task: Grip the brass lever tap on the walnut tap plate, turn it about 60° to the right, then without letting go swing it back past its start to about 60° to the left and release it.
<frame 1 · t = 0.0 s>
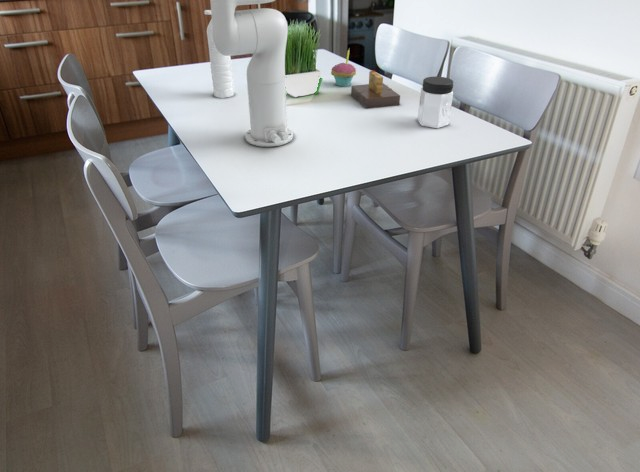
tap handle: (375, 81, 157), point 6 cm above the table, hinge at 0.0°
fruit basket: (303, 95, 165), on the table
tap plate: (374, 99, 160), on the table
cupcake: (343, 85, 174), on the table
water bottle: (222, 94, 165), on the table
jar: (432, 123, 143), on the table
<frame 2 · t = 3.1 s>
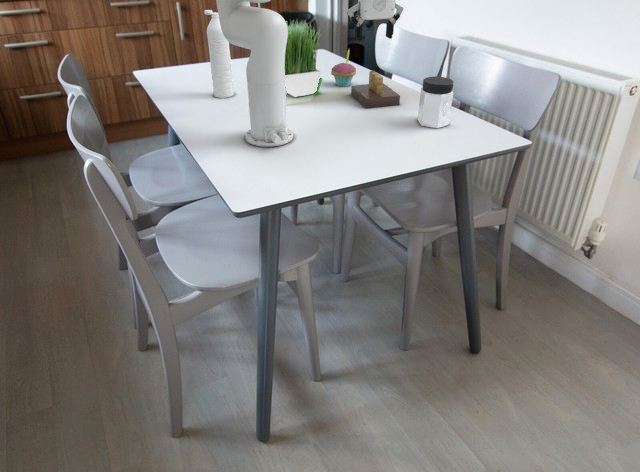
hand: (373, 38, 150), 18 cm above the table, tool pointing down, fingers open, 9 cm apart
nothing on the table moved.
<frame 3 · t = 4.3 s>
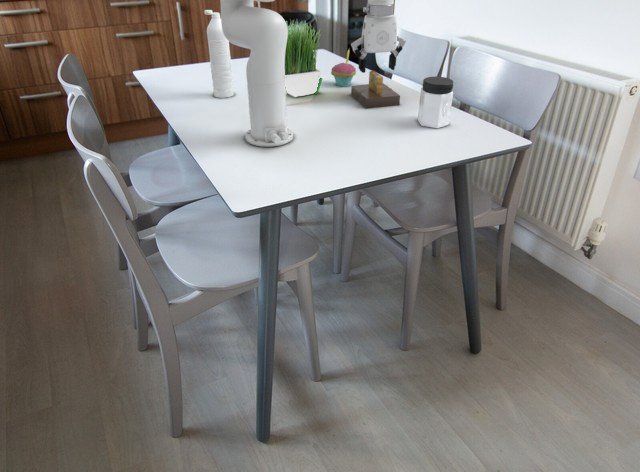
hand: (377, 70, 155), 9 cm above the table, tool pointing down, fingers open, 9 cm apart
nothing on the table moved.
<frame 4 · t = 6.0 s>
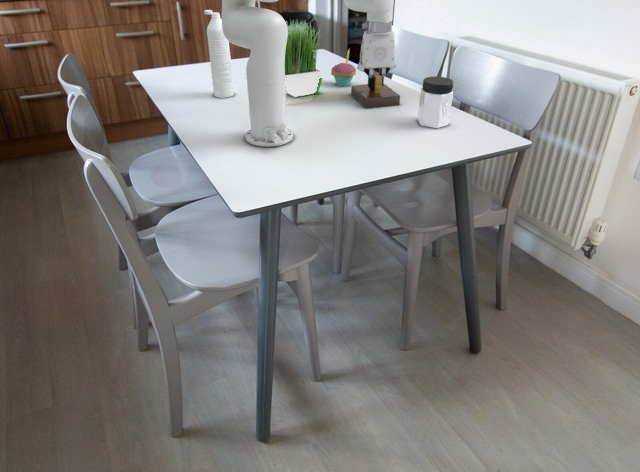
hand: (375, 88, 158), 4 cm above the table, tool pointing down, fingers closed on tap handle, 2 cm apart
tap handle: (375, 81, 157), point 6 cm above the table, hinge at -4.9°, touching gripper
everything else where it was.
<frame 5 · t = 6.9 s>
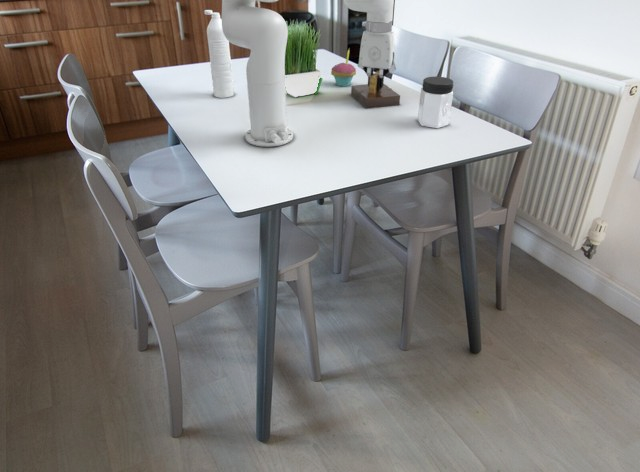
hand: (375, 88, 158), 4 cm above the table, tool pointing down, fingers closed on tap handle, 2 cm apart
tap handle: (375, 81, 157), point 6 cm above the table, hinge at -40.3°, touching gripper
everything else where it was.
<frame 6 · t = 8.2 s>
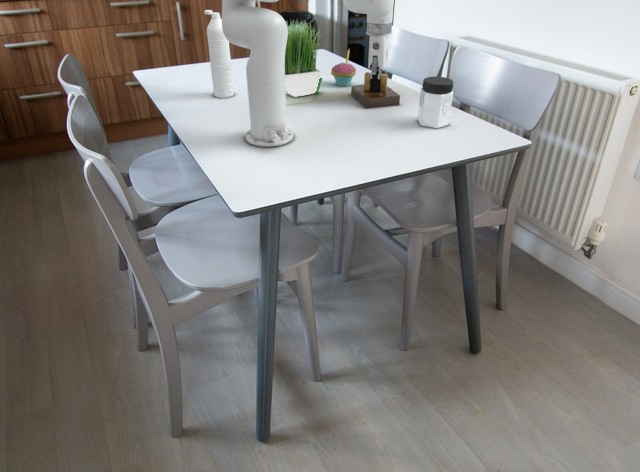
hand: (375, 89, 158), 3 cm above the table, tool pointing down, fingers closed
tap handle: (375, 81, 157), point 6 cm above the table, hinge at 60.2°
everything else where it was.
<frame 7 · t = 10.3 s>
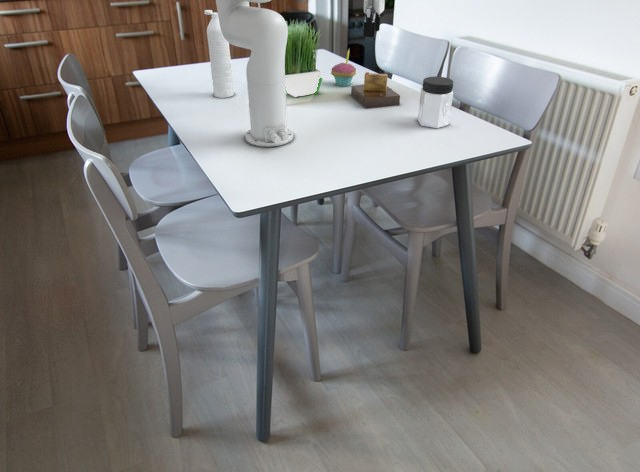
hand: (371, 33, 150), 20 cm above the table, tool pointing down, fingers open, 9 cm apart
nothing on the table moved.
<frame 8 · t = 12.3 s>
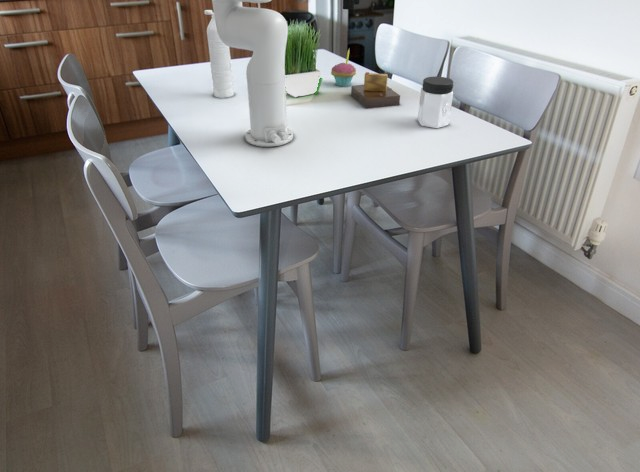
hand: (351, 6, 152), 26 cm above the table, tool pointing down, fingers open, 9 cm apart
nothing on the table moved.
at the end: tap handle reached -60° during the clip, +60° at the end; tap handle at +60° (first picture: +0°); the gripper is holding nothing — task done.
